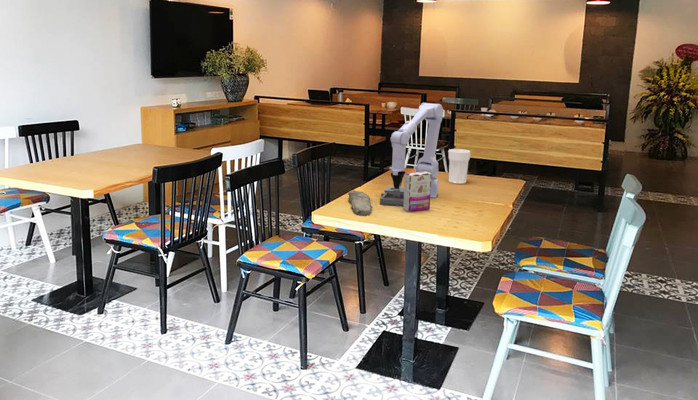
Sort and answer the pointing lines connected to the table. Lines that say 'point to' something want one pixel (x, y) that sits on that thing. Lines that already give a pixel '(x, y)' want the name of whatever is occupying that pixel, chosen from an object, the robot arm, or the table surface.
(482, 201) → the table surface
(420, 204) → the candy bar box
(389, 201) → the tray
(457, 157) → the cup
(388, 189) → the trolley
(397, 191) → the pin
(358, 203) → the elongated rock
